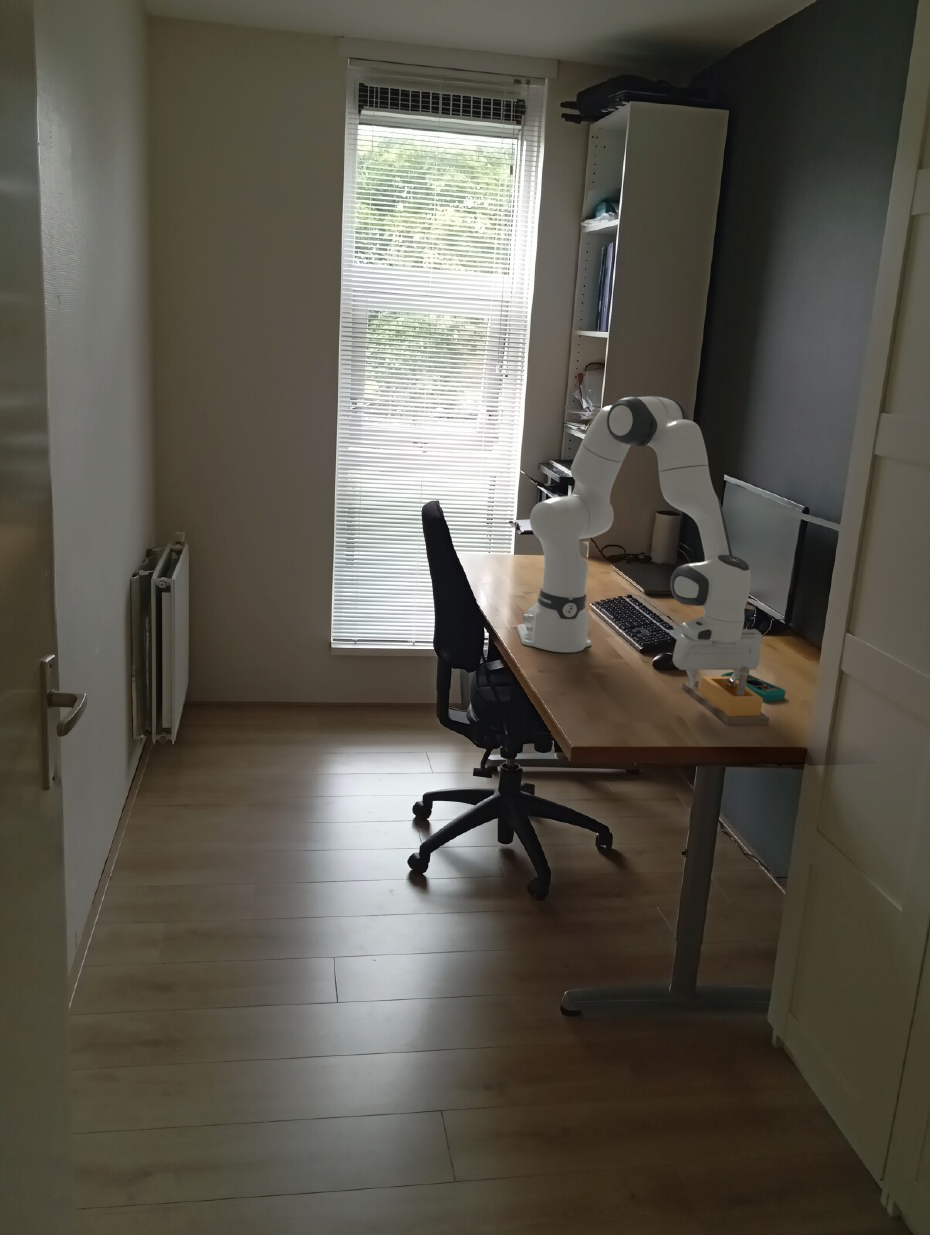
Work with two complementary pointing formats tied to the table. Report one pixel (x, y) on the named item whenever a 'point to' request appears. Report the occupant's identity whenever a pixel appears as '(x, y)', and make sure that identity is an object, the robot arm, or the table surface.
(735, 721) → the keeper board
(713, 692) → the orange rectangular frame
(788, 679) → the table surface
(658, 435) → the robot arm
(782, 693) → the digital multimeter
